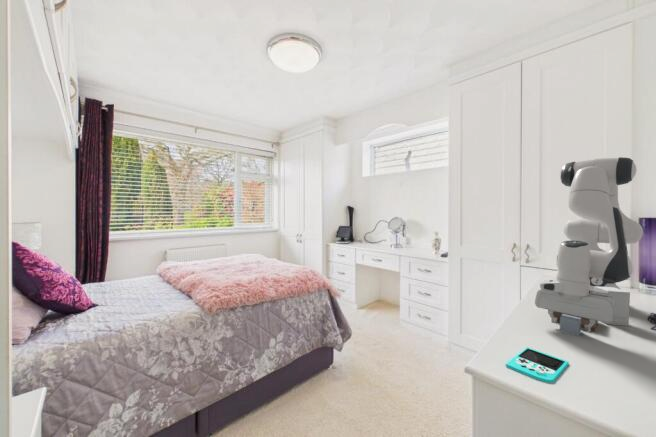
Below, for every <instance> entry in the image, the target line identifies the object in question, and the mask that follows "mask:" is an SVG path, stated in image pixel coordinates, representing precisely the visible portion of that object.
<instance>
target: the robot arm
mask: <svg viewBox="0 0 656 437" xmlns="http://www.w3.org/2000/svg"><path fill="white" fill-rule="evenodd" d="M559 172H560V173H559V179H560V181H561V183H562V185H563V186H565V187H570V188H569V194H568V208H569V209H570V211H571V212H572V213H573V214H575V215H577V216H579V217H580V218H574V219H569V220H568V221H567V222H565V223H564V225H563V234H564V235H565V237H566V238H567V239H568V240H565V241H562V242H561V243H560V244H559V248H558V252H557V255H556V267H557V274H556V275H555V276H556V277H555V279H550V280H549V279H547V280H543V281H541V282H540V284H539V289H538V290H537V291H536V294H535V299H534V305H535V306H536V307H537V308H539V309H543V310H547V314H548V315H549V317H550V319H551V321H550V322H551V323H552V324H556V325H557V323H558V322H557V318H555V317H554V315H553V312H554V311H556V312H561V313H565V314H570V315H574V316H579V317H583V318H588V319H590V322H591V323H590V324H589V325H585V327H584V328H585V329H584V328H583V329H584V330H583V331H584V332H589V333H591V331H592V330H591V327H592V326H593V325H594V324H595V322H596V320H597V321H598V322H601V323H603V322H606V323H610V322H612V318H613V316H612V308H613V307H614V306H615V299H614V298H613V297H612V296H610V295H609V294H607V293H600V292H595V291H594V286H599V287H615V288H618V289H621V288H620V287H619V286H618V285H617V283H620V282H623V281H626V280H628V279H630V278H631V276H632V274H633V264H632V261H631V258H630V256H629V252H628V246H627V245H630V244H636V243H638V242H639V241H640V240H641V239H642V238H643V236H644V229H643V227H642V225H641V224H640V223H639V222H637V221H635V220H633V219H631V218H630V217H628V216H627V215H625V214H624V213H623V211H622V210H621V208H620V204H619V186H621V185H627V184H629V183H631V181H633V179H634V177H635V176H636V174H637V166H636V164H635V162H634V160H633V159H632V158H630V157H623V156H621V157H620V156H619V157H617V158H615V157H612V158H610V157H608V158H607V157H603V158H595V159H587V160H581V161H572V162H568V163H565V164H564V165H563V166H562V168H561V170H560V171H559ZM600 243H601V244H609V247H610V249H609V250H608V251H607V250H604V249H603V248H600V247H599V245H598V244H600ZM608 296H609V297H608Z"/></svg>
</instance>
